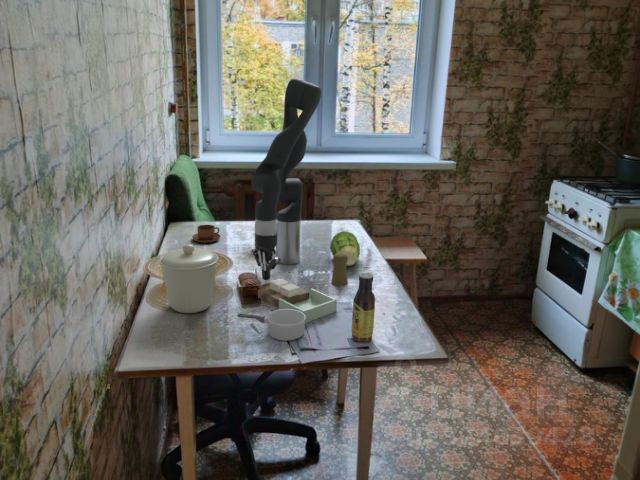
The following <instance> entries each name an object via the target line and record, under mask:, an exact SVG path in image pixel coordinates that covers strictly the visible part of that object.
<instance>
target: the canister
mask: <svg viewBox="0 0 640 480" xmlns="http://www.w3.org/2000/svg"><path fill="white" fill-rule="evenodd" d="M218 261H219V256H218V255H217V254H216V253H214V252H213V251H210V250H208V249H206V248H201V247H200V248H199V247H194V245H193V244H190V243H186V244H183V247H182V248H177V249H173V250H171V251H168V252H167V253H165V254H163V255H162V256H160V257H159V259H158V263H159V264H160V265H161V270H162V275H163V280H164V287H165V292H166V296H167V301H168V304H169V306H170V308H171V309H172V310H174V311H175V312H178V313H180V314H181V313H182V314H194V313H195V314H196V313H200V312H203V311H206V310H207V309H208V308H209V307H210V306H211V305H212V302H213V300H214V299H213V298H214V291H215V282H216V280H215V279H216V269H217V262H218Z"/></svg>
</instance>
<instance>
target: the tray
mask: <svg viewBox="0 0 640 480" xmlns="http://www.w3.org/2000/svg"><path fill="white" fill-rule="evenodd" d="M337 300H338V299H336V298H334V297H332V296H329V295H328V294H325V293H322V292H321V291H319V290H317V289H314V288H310V290H309V299H307V300H304V301H301V302H298V303H295V304H290V303H288V302H286V301H284V300H282V299H279V309H294V310H298V311H301V312H303V313H304V314H305V315H306V320H305V324H306V323H309V322H312V321H314V320H317V319H321V318H323V317H325V316H328V315H330V314H333V313H337V309H338V308H337V307H338V306H337V304H338V303H337V302H338V301H337ZM279 309H278V310H279Z"/></svg>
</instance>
